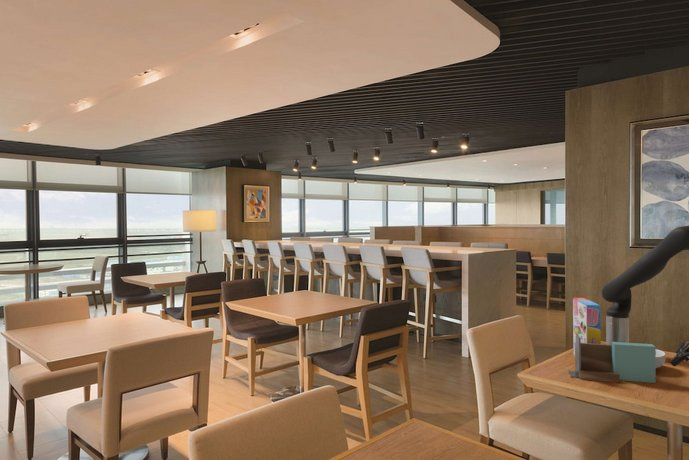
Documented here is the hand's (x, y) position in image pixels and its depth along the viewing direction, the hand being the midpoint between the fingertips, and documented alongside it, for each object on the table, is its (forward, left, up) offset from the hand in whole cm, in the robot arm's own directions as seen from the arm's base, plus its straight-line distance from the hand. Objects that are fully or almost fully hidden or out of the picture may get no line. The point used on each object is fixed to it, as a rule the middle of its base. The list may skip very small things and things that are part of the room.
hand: (671, 364), depth 177 cm
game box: (-20, -26, -7) cm, 34 cm away
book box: (0, -13, -7) cm, 15 cm away
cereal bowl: (-18, -5, -7) cm, 20 cm away
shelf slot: (0, -26, -7) cm, 27 cm away
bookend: (0, -34, -7) cm, 35 cm away
